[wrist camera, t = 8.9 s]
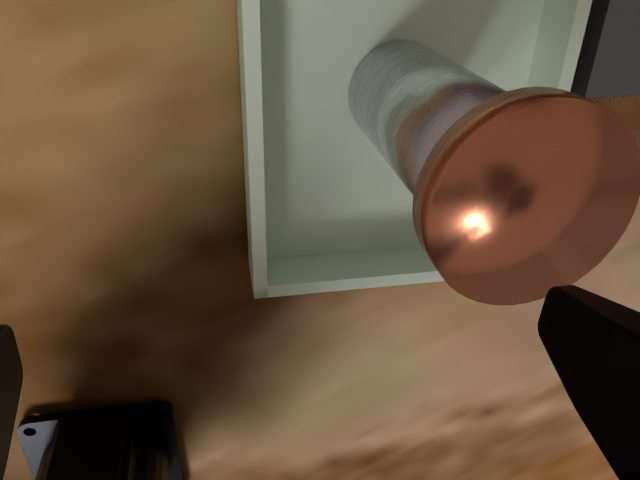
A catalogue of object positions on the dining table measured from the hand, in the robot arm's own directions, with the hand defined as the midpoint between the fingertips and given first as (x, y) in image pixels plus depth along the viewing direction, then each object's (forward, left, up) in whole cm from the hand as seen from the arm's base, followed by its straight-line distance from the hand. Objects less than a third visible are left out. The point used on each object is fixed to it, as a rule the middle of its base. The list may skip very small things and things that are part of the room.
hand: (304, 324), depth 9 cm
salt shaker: (+1, -5, -12) cm, 13 cm away
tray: (+1, -5, -12) cm, 13 cm away
